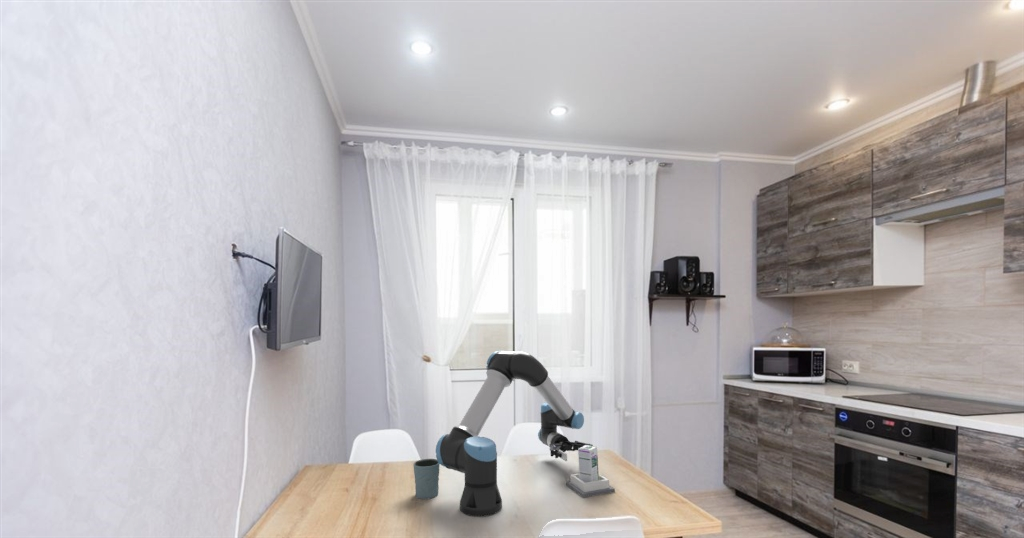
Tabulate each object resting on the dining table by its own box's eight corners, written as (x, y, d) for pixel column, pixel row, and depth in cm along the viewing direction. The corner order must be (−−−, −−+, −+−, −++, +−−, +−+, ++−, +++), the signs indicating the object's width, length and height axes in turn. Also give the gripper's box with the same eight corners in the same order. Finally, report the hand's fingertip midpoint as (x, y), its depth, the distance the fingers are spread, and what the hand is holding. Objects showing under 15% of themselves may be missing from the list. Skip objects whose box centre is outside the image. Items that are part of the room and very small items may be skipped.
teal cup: (434, 500, 168) (434, 467, 169) (408, 498, 170) (409, 466, 171) (443, 490, 177) (443, 458, 179) (419, 488, 179) (419, 457, 181)
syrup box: (592, 489, 173) (591, 450, 175) (579, 485, 177) (577, 447, 178) (599, 484, 178) (597, 446, 179) (585, 481, 181) (584, 444, 183)
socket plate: (583, 497, 168) (582, 485, 169) (565, 484, 181) (565, 474, 182) (614, 491, 173) (614, 480, 173) (595, 479, 186) (595, 469, 186)
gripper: (582, 447, 208) (607, 461, 188) (533, 454, 200) (553, 469, 180) (582, 431, 209) (606, 442, 189) (532, 436, 200) (553, 449, 181)
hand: (581, 455), depth 185 cm, fingers open, 13 cm apart
